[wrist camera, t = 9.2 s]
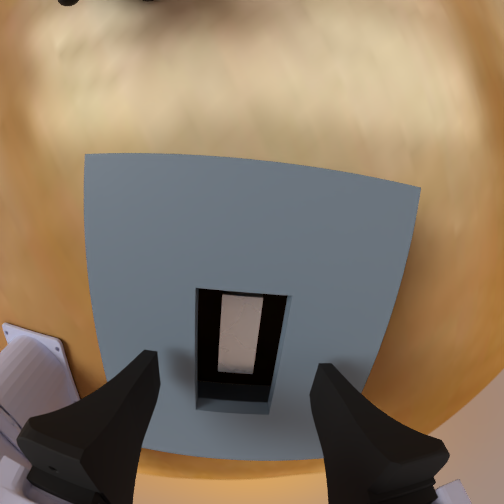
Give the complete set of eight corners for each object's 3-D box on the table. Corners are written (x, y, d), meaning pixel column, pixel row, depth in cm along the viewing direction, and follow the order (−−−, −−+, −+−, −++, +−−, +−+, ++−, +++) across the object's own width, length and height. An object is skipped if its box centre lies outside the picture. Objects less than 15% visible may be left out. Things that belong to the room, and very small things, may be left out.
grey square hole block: (312, 393, 23) (328, 457, 16) (148, 381, 22) (126, 444, 15) (361, 175, 17) (420, 187, 11) (140, 153, 17) (85, 154, 10)
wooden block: (250, 328, 21) (252, 374, 16) (222, 326, 21) (217, 371, 16) (258, 262, 19) (263, 298, 14) (227, 260, 19) (222, 294, 14)
